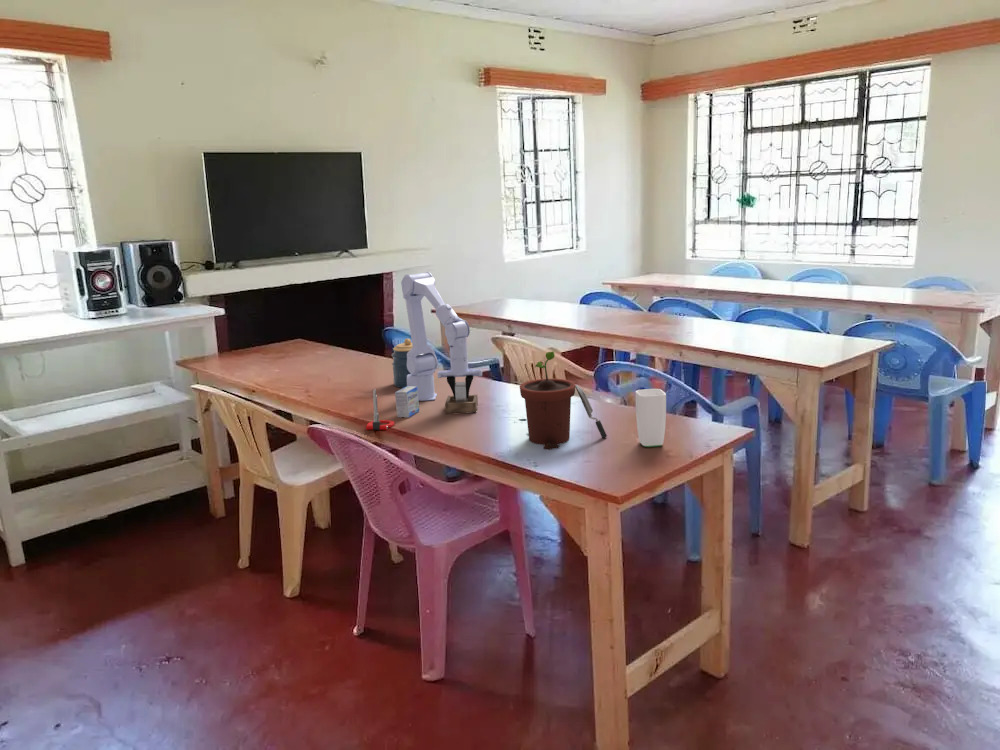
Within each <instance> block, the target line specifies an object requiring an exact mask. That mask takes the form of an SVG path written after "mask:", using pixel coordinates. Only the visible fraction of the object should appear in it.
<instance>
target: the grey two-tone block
mask: <svg viewBox="0 0 1000 750" xmlns="http://www.w3.org/2000/svg"><path fill="white" fill-rule="evenodd" d="M455 382H456V384H455V397H456V402H468V398H467V397H466V382H465V381H455Z"/></svg>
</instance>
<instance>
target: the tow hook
mask: <svg viewBox="0 0 1000 750" xmlns="http://www.w3.org/2000/svg"><path fill="white" fill-rule="evenodd" d="M372 391H373V392H372V393H373V396H372V401H373V402H372V403H373V421H370V422H368V423H367V425H366V426H365V429H366V430H367V431H369V430H370V431H387V430H388V428H392V427H393V426H394V425H396V424H395V421H393V420H390V419H380V415H379V414H380V413H379V411H378V410H379V408H378V396H377V390H376V388H373V389H372ZM388 423H389V424H388Z"/></svg>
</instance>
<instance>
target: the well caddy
mask: <svg viewBox="0 0 1000 750" xmlns="http://www.w3.org/2000/svg"><path fill="white" fill-rule="evenodd" d="M478 399H479V397H478V394H469V398H468V402H456V399H454V395H447V397H446V399H445V402H444V408H445V415H453V413H460V414H467V413H466V412H476V411H477V410H478V407H477V406H479V400H478ZM476 413H477V412H476Z"/></svg>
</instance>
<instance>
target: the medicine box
mask: <svg viewBox="0 0 1000 750" xmlns="http://www.w3.org/2000/svg"><path fill="white" fill-rule="evenodd" d="M394 398H395V409H396V417H397V418H402V417H404V419H405V418H407V419H409V417H410V418H411V417H413V416H414V415H415V413H416V414H418V413H419V412H420V405H419V404H420V403H419V401H418V389H417V387H415V386H406V387H404V388H403V387H401V389H398V390H397V391H395V392H394ZM412 415H413V416H412Z"/></svg>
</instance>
